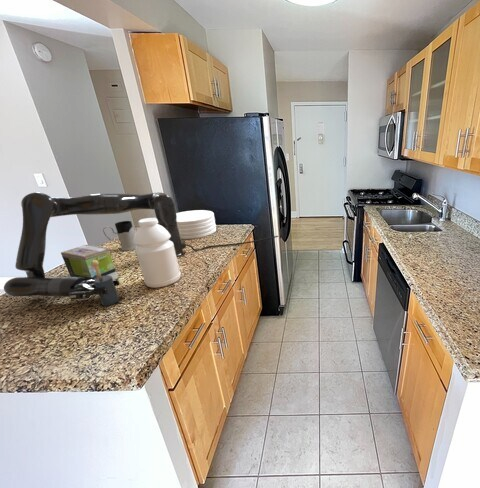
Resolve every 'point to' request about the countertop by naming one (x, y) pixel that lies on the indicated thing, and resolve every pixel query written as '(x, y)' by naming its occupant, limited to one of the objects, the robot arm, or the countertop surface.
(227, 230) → the countertop surface
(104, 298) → the spoon crock
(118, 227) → the glass holder
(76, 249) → the tea box
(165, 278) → the bottle
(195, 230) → the plate stack
